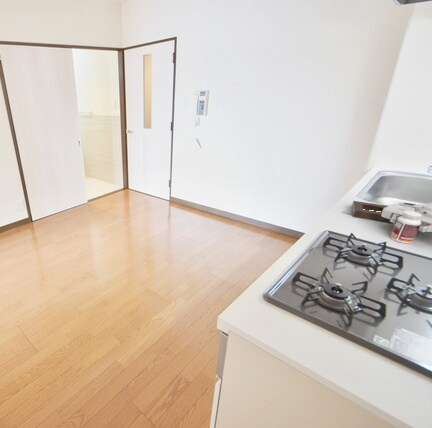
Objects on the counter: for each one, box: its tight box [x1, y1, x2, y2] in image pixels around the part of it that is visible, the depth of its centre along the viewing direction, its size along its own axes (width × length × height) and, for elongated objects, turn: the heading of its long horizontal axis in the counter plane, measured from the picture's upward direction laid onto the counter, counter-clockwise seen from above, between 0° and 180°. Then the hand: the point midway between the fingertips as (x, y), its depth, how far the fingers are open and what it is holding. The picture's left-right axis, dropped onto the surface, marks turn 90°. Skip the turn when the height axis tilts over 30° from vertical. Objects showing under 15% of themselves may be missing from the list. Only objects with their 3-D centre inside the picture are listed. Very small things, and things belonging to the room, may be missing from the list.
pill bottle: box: [390, 211, 422, 244], centre depth 102 cm, size 6×6×11 cm
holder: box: [351, 200, 393, 224], centre depth 124 cm, size 13×13×3 cm
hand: (406, 224), depth 101 cm, fingers open, 7 cm apart
